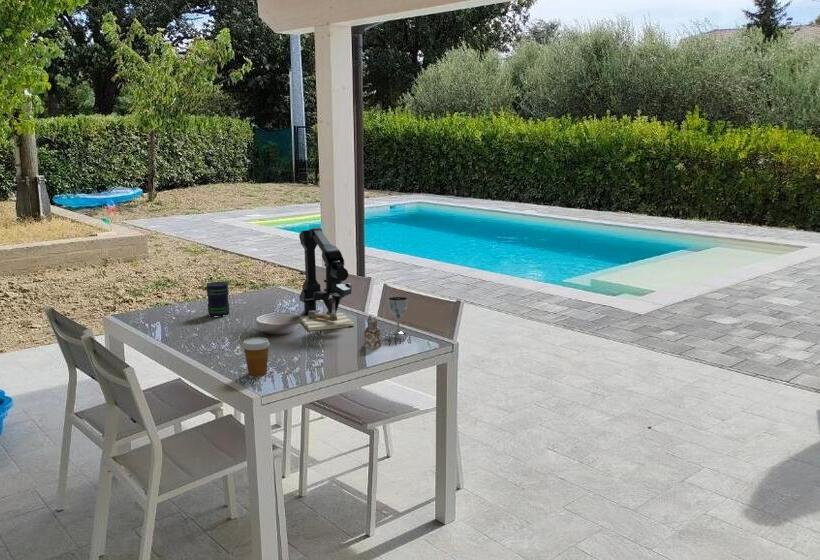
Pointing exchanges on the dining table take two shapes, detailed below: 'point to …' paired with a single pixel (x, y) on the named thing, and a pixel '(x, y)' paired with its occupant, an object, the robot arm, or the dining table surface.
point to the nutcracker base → (326, 322)
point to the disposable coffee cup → (256, 355)
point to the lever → (323, 316)
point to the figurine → (372, 334)
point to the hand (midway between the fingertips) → (332, 312)
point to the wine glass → (398, 310)
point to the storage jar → (218, 298)
